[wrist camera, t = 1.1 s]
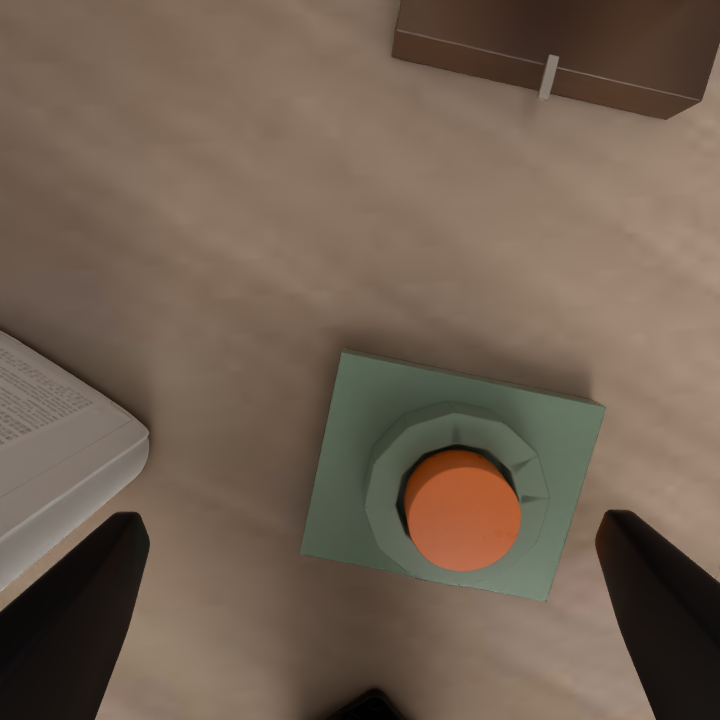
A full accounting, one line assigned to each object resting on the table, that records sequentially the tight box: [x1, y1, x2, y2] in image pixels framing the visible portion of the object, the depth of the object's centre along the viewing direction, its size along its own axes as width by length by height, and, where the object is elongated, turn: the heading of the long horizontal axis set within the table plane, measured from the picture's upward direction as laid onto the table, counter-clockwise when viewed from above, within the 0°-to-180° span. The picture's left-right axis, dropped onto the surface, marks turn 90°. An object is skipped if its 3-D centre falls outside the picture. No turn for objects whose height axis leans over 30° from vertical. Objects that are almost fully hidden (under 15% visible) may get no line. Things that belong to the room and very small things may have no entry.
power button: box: [404, 450, 521, 571], centre depth 18 cm, size 4×4×2 cm
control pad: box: [300, 348, 606, 602], centre depth 20 cm, size 11×9×3 cm
